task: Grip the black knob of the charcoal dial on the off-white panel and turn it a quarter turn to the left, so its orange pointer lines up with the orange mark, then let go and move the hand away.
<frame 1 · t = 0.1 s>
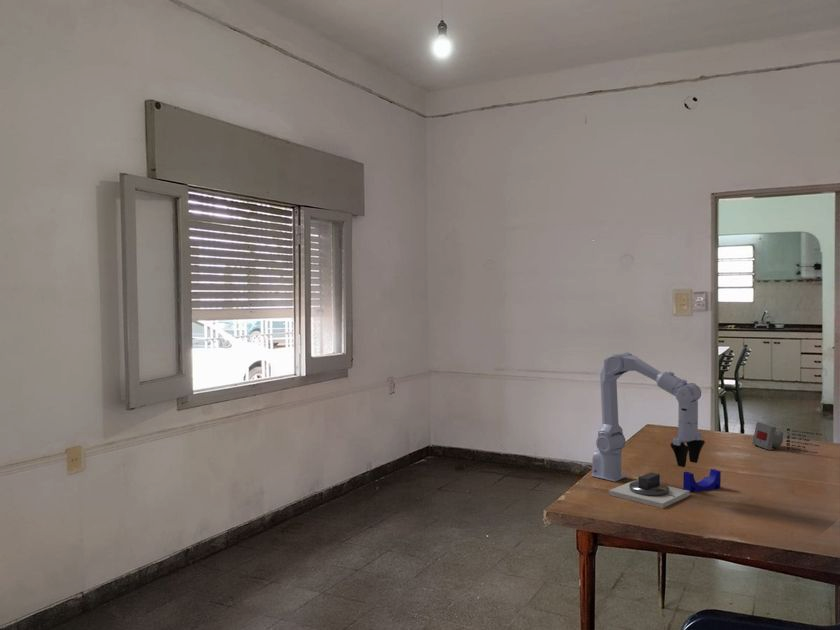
hand: (687, 464, 206), 10 cm above the table, tool pointing down, fingers open, 7 cm apart
dial: (649, 482, 206), point 4 cm above the table, hinge at 0.0°
blue cradle block: (700, 489, 213), on the table
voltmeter: (785, 451, 263), on the table
dial panel: (649, 495, 206), on the table
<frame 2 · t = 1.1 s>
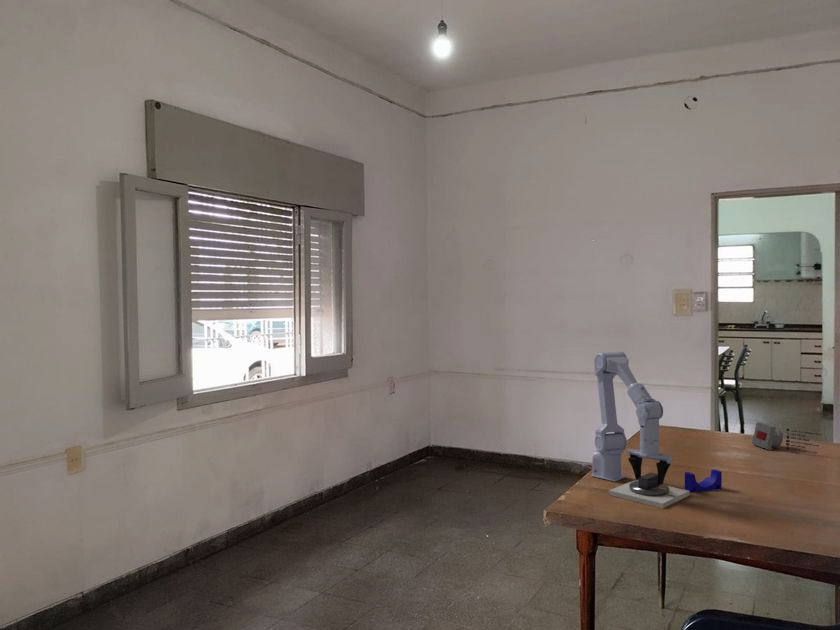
hand: (649, 481, 206), 4 cm above the table, tool pointing down, fingers open, 7 cm apart
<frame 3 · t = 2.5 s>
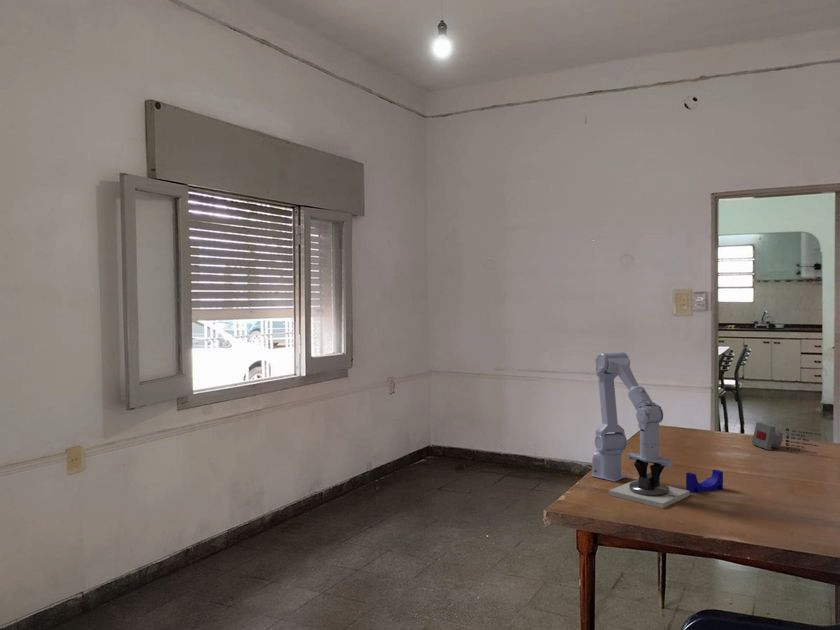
hand: (649, 485, 206), 3 cm above the table, tool pointing down, fingers closed on dial, 3 cm apart
dial: (649, 482, 206), point 4 cm above the table, hinge at 0.0°, touching gripper
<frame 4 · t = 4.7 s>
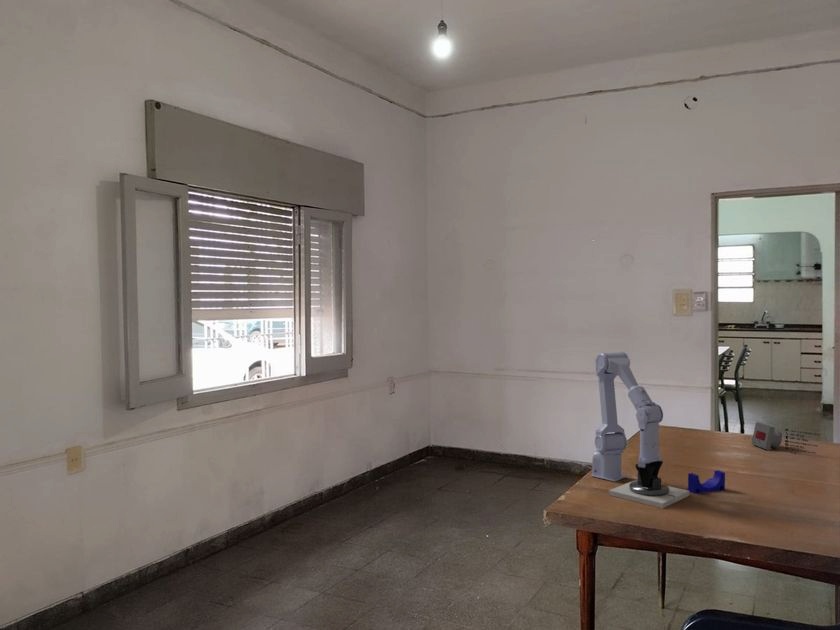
hand: (649, 485, 206), 3 cm above the table, tool pointing down, fingers closed on dial, 5 cm apart
dial: (649, 482, 206), point 4 cm above the table, hinge at 63.7°, touching gripper
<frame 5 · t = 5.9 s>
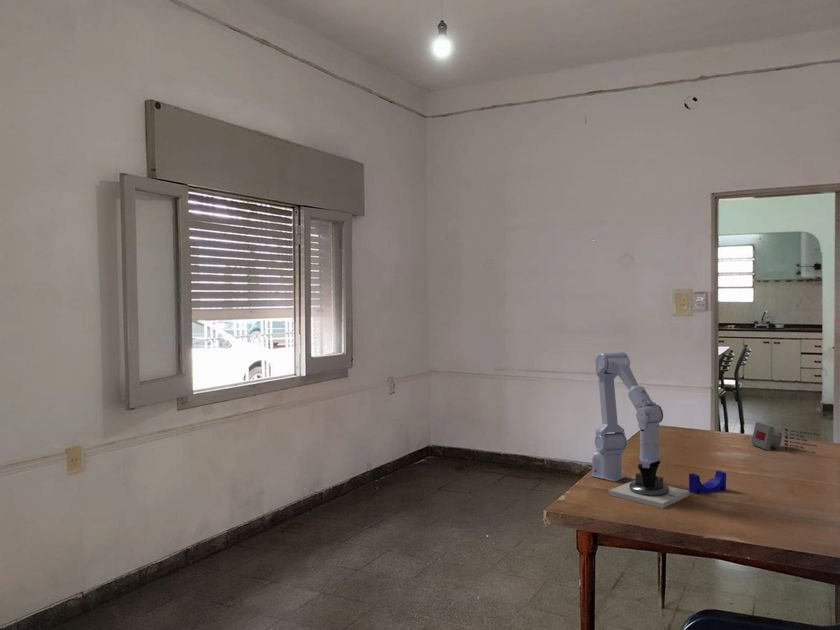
hand: (649, 485, 206), 3 cm above the table, tool pointing down, fingers closed on dial, 5 cm apart
dial: (649, 482, 206), point 4 cm above the table, hinge at 84.2°, touching gripper
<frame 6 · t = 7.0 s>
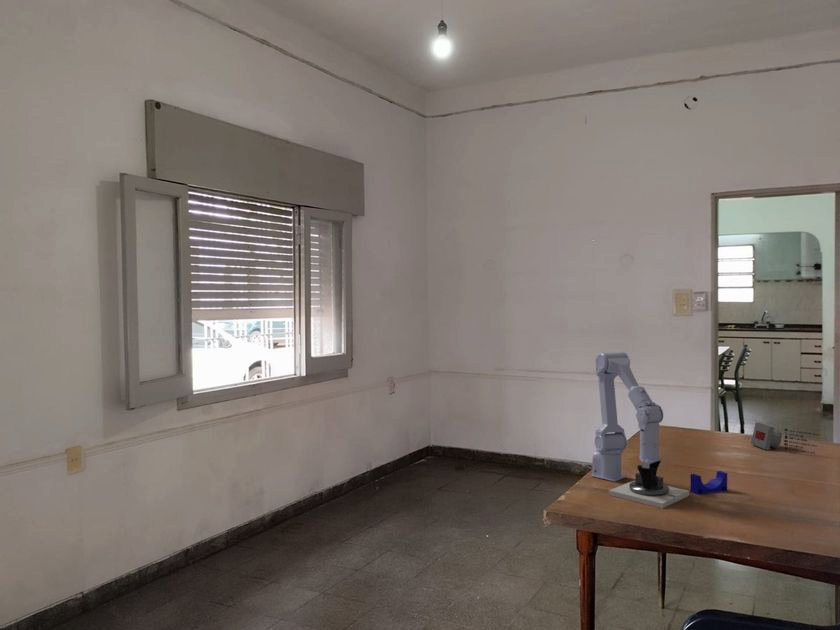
hand: (649, 485, 206), 3 cm above the table, tool pointing down, fingers open, 7 cm apart
dial: (649, 482, 206), point 4 cm above the table, hinge at 85.0°
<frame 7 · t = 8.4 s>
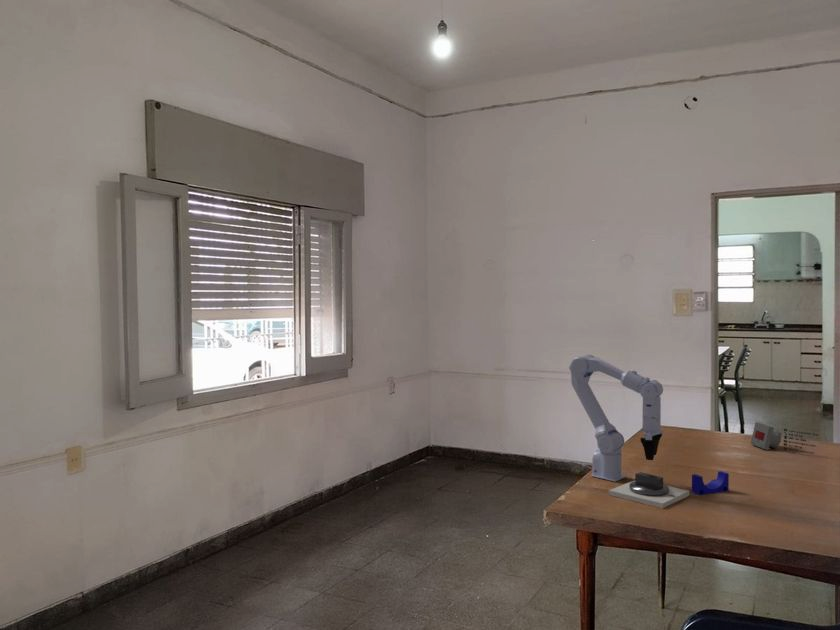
hand: (651, 457, 217), 9 cm above the table, tool pointing down, fingers open, 7 cm apart
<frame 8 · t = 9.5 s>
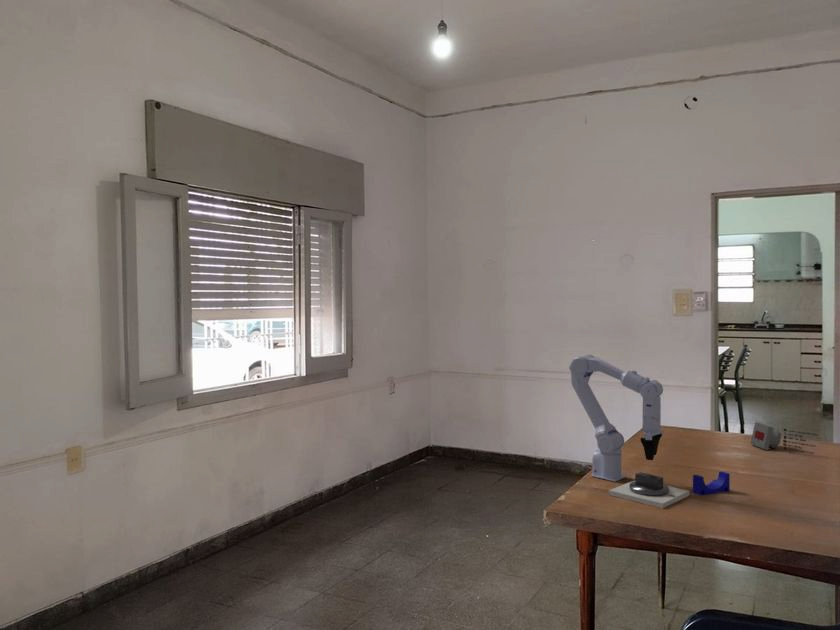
hand: (651, 457, 217), 9 cm above the table, tool pointing down, fingers open, 7 cm apart
at the end: dial at +85° (first picture: +0°); the gripper is holding nothing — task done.
